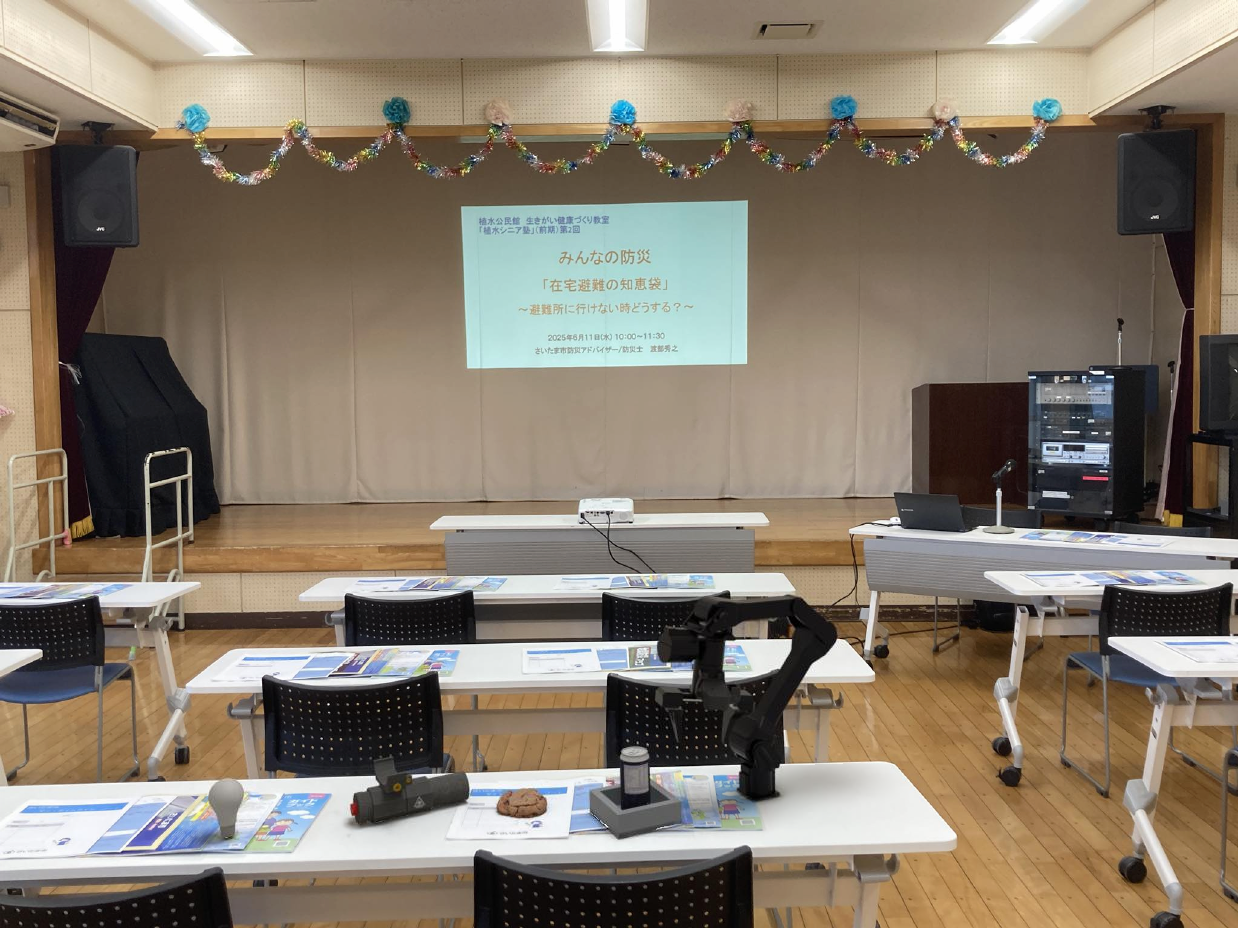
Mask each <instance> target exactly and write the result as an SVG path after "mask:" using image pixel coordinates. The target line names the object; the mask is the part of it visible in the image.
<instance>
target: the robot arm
mask: <svg viewBox="0 0 1238 928" xmlns="http://www.w3.org/2000/svg"><path fill="white" fill-rule="evenodd" d="M778 618H786V619H787V622H788V623H789V625H790V626H792V627H793V629H794V630H793V633H792V636H791V643H790V645H791V646H790V652H789V653H788V655H787V656H786V658H785V660H784V661H783V663H782V665H781V666H780V668H779V670H778V671H777V673H776V674H775V676H774V678H773V680H772V681H771V683H770V684H769V686H768V687H767V689H766V691H765V693H764V694H763V696H762V697H761V699H760V701H759V702H758V704H757V705H756V699H755V696H754V695H753V694H751V693H749V692H748V691H747V690H745V689H742V687H741V685H740V684H739V683H726V680H725V679H726V675H725V674H726V673H725V670H724V663H725V662H724V661H725V652H726V642H735V641H736V640H737V638H736V637H735V635H734V634H732V632H731V630H730V629H731V628H736V627H737V626H738V625H740V624H741V623H745V622H747V621H748V622H749V621H758V620H766V619H778ZM663 629H664V630H663V632H662V633H661V634H660V636H659V638H658V640H657V644H656V652H657V656H658V660H659V661H660V662H661V663H662V664H691V663H692V664H691V670H692V677H691V678H692V679H691V684H689V691H690V692H682V691H681V690H680V689H679V688H678V687H676V686H659V687H658V688H656V691H655V696H654V697H655V698H654V700H655V701H656V703H657V704H659V706H660V707H661V708H664V709H665V710H666V711H667V712H668V715H669V717H670V720H671V725H672V728H673V732H674V735H675V740H676V742H677V743H679V744H680V743H681V739H682V723H683V722H682V716H683V713H684V711H685V710H684V709H683V708H682V706H683V704H684V703H686V704H687V703H689V704H703V708H704V709H705V710H707V711H714V710H717V711H723V714H722V715H723V717H722V727H721V728H722V729H721V743H722V745H725V744H726V743H727V741H728V744H729V747H730V750H732V751H733V752H734V754H735V757H736V759H738V760H740V761H742V762H741V763H740V764H739V765H740V770H739V772H738V787H736V792H738V793H739V794H741V795H743V796H744V797H746V798H747V799H749V800H750V801H752V802H758V801H762V800H766V799H770V798H771V799H773V798H774V797H779V796H781V792H780V791H778V790H777V789H776V769H779V768H780V766H781V763H782V759H783V758H782V756H781V755H779V754H778V752H776V751H775V750H774V749H773V745H774V743H775V737H776V726H777V723H778V721H779V719H780V718H781V716H782V714H783V713H784V711H785V710H786V708H787V706H788V705H789V703H790V701H791V700H792V698H793V696H795V693H796V692H797V690H798V688H799V686H800V685H801V683H802V681H803V680H804V678H805V676H806V675H807V674H808V671H809V670H810V668H811V666H812V665H813V664H814V663H816V662H818V661H819V660H820V659H822V658H823V657H824V656H826V655H828V653H829V652H830V651H831V649H832V648H833V647H834V645H836V642H837V640H838V636H839V634H838V631H837V628H836V625H835V624H834V623H833V622H831V620H830V621H829V620H828V619H827V620H826V618H824V616H823V615H821V614H820V613H819V612H818V611H816V610H815V609H814V608H813V607H811V606H810V604H809V603H807V602H806V600H804V598H803V597H801V596H798V595H794V594H789V593H788V594H787V593H786V594H784V595H778V596H767V597H766V596H765V597H756V598H755V597H754V598H745V599H732V598H731V599H730V598H726V597H719V596H713V595H712V596H711V595H705V596H702V597H700V598H699V599H698V600H697V602H696V603H695V605H694V609H693V610H692V611H691V613H690V614H689V615H688V617H687V618H686V619H685V621H684V622H683V623H682V624H681V627H673V626H669V625H668V626H664V628H663ZM748 711H749V712H750V713H749V712H748Z"/></svg>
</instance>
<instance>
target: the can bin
mask: <svg viewBox="0 0 1238 928" xmlns="http://www.w3.org/2000/svg"><path fill="white" fill-rule="evenodd" d="M650 793H651V804H649V805H645V806H640V807H635V808H631V809H626V810H621V793H620V783H617V784H611V785H607V786H602V787H596V788H592V789H589V813H590V812H591V813H592V814H593V815H595V816H596V817H597V818H598V819H599V820H601V821H602V822H603V823H604V824H606V825H607V826H608V827H609V829H610V831H611V832H610V831H609V832H610V833H611V834H612V835H613V836H615V838H616V839H617V840H622V839H626V838H631V837H634V836H639V835H643V834H648V833H652V831H653V830H656V829H657V828H660V827H664V826H670V825H674V824H681V823H682V824H683V818H682V817H683V814H682V812H683V811H682V803H683V802H682V800H680V798H678V797H677V796H675V795H673V793H671V792H670V791H668V790H667V789H666V788H664V787H663V786H662V785H660V784H659V783H657V781H655V780H653V779H652V778H651V777H650ZM591 813H590V814H591ZM592 814H591V815H592ZM593 815H592V816H593ZM653 832H654V831H653Z"/></svg>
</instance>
